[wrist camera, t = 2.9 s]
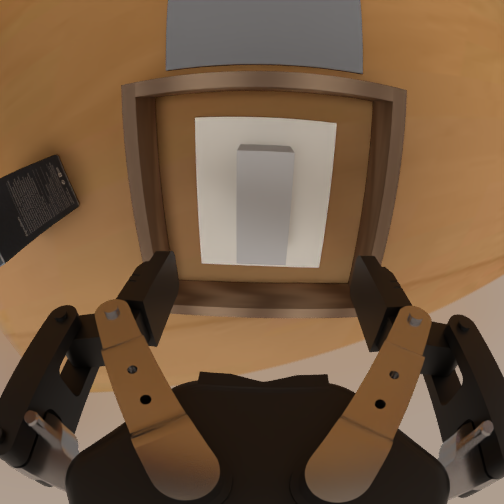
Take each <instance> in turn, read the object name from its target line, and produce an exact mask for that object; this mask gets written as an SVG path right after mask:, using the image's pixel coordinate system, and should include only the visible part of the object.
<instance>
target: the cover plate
mask: <svg viewBox="0 0 504 504" xmlns="http://www.w3.org/2000/svg"><path fill="white" fill-rule="evenodd" d="M336 126H337V123H331V122H322V121H312V120H301V119H288V118H270V117H197V118H195V143H196V176H197V198H198V217H199V233H200V247H201V260H202V263H204V264H228V265H253V266H280V267H310V268H319V264H320V258H321V252H322V246H323V239H324V232H325V226H326V219H327V211H328V204H329V196H330V188H331V179H332V170H333V160H334V150H335V138H336Z"/></svg>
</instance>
